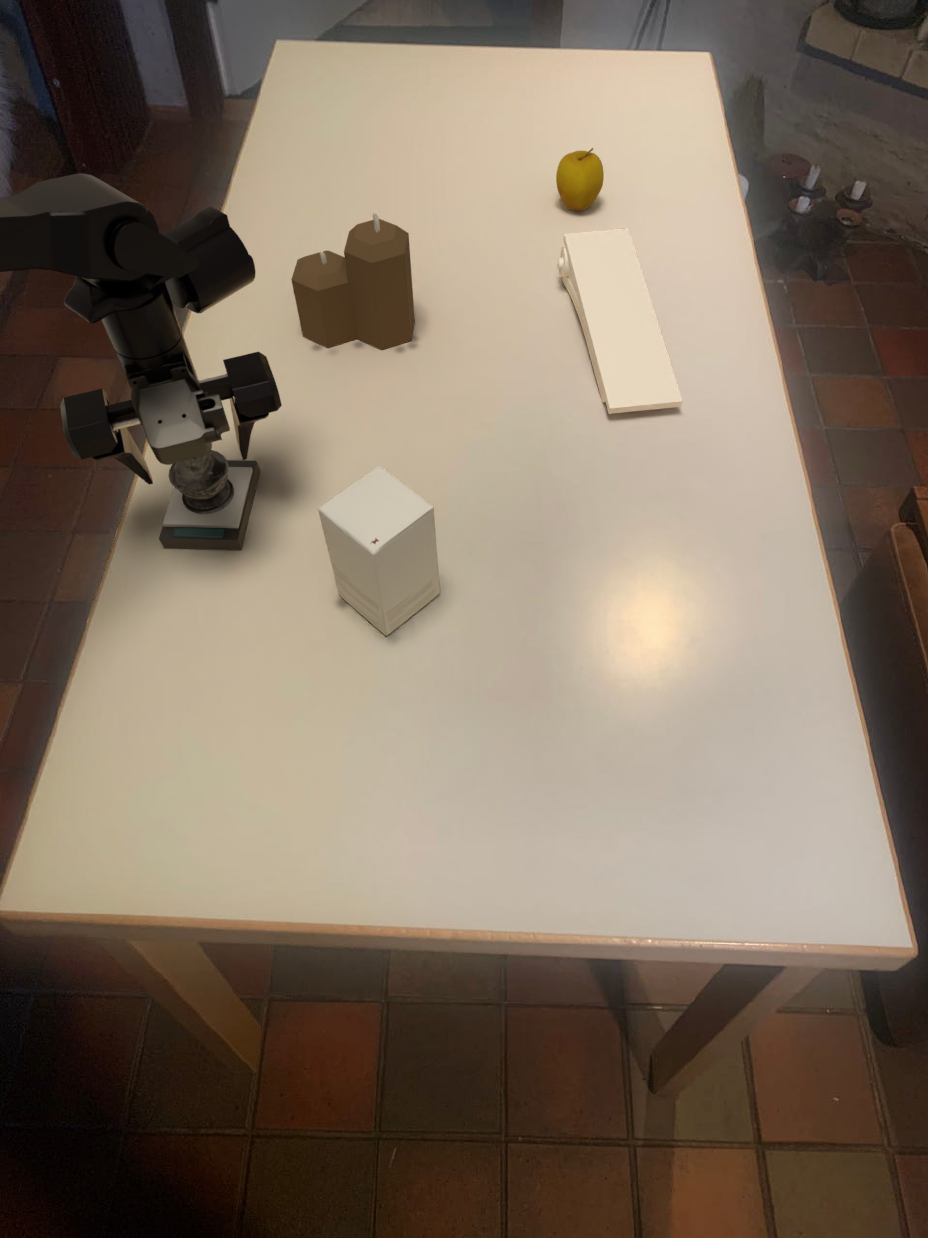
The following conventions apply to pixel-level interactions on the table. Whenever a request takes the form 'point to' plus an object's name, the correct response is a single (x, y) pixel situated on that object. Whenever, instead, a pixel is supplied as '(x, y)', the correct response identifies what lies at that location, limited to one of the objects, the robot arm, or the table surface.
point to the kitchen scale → (213, 515)
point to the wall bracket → (618, 321)
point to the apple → (579, 179)
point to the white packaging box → (382, 548)
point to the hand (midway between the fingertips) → (197, 468)
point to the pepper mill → (203, 482)
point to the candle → (358, 289)
